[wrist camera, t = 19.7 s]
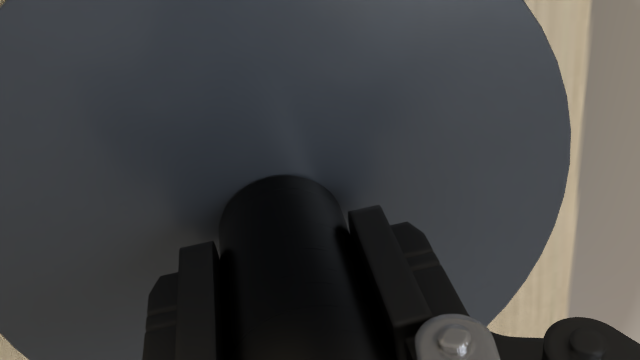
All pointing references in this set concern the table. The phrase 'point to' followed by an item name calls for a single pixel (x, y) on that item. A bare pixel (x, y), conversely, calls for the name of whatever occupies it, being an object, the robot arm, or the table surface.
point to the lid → (266, 162)
